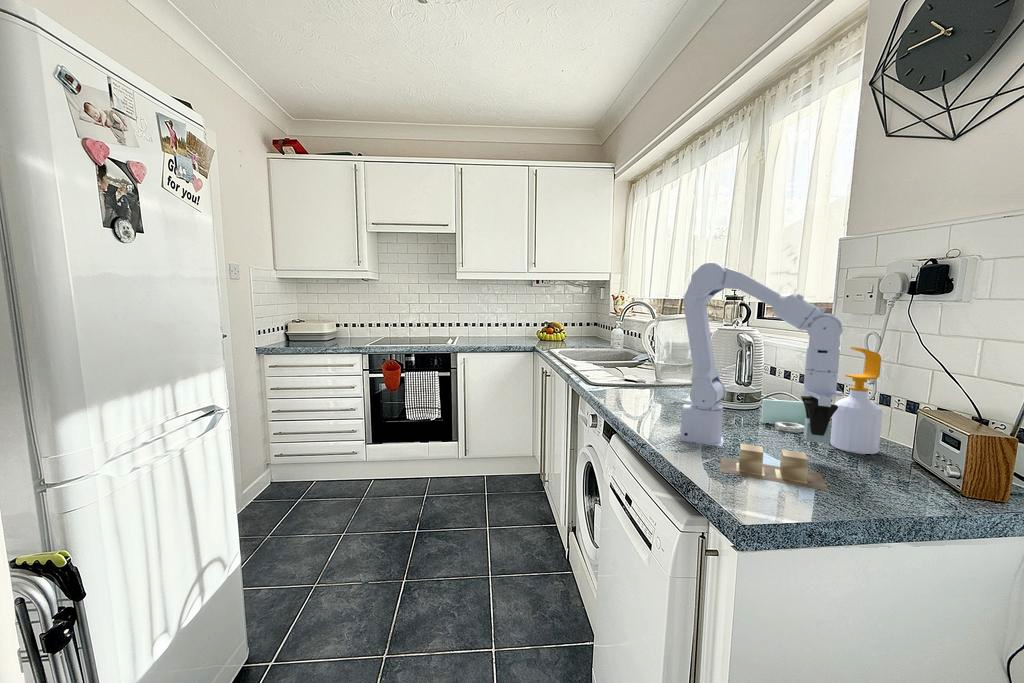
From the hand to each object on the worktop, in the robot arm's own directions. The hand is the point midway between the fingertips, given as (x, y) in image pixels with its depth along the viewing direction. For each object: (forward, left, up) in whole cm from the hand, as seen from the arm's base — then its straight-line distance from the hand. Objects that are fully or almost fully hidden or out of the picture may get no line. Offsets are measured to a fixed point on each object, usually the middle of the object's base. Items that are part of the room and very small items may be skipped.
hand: (815, 431), depth 92 cm
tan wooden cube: (-5, -13, -6) cm, 15 cm away
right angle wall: (-1, +26, -8) cm, 27 cm away
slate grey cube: (0, 0, -2) cm, 2 cm away
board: (-9, -13, -7) cm, 17 cm away
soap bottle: (+10, +16, -7) cm, 20 cm away
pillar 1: (-12, -13, -6) cm, 19 cm away
